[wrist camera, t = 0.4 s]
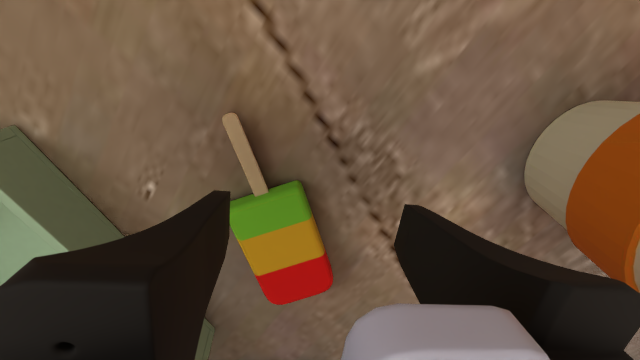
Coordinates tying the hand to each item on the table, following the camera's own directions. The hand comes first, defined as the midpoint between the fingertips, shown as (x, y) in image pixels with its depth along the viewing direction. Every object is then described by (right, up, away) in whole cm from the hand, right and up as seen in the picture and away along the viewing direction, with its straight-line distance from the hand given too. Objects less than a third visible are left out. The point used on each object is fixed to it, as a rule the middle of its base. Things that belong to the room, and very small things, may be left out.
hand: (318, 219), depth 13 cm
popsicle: (-3, 0, +10) cm, 11 cm away
